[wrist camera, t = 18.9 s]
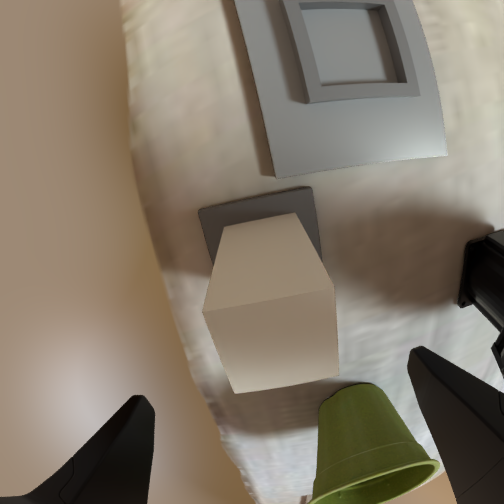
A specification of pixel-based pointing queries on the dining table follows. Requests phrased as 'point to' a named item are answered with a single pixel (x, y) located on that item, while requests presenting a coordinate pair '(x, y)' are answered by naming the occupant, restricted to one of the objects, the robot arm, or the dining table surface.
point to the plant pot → (366, 450)
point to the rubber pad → (260, 215)
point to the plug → (271, 306)
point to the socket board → (342, 82)
